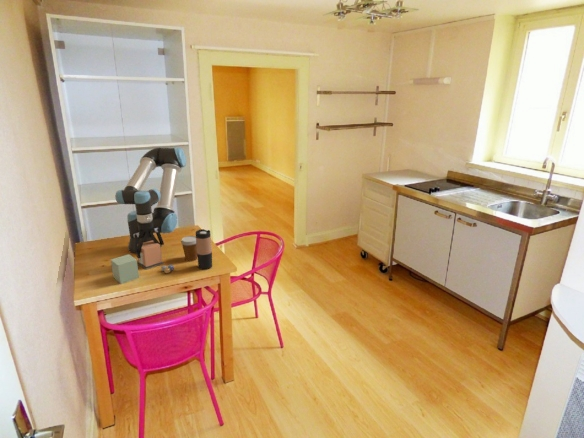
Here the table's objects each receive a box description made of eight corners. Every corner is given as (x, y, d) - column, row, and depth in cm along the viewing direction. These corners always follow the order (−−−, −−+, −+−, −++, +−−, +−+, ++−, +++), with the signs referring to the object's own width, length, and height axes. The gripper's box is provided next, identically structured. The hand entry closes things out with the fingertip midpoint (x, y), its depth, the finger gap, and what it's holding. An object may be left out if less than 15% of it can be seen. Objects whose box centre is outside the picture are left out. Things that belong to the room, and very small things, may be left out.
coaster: (137, 263, 201) (137, 262, 201) (155, 258, 208) (155, 257, 207) (145, 269, 194) (145, 268, 194) (163, 263, 201) (163, 262, 201)
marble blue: (166, 270, 194) (166, 265, 193) (172, 268, 196) (171, 263, 195) (169, 272, 192) (169, 266, 191) (175, 270, 194) (174, 265, 193)
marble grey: (160, 271, 193) (159, 265, 192) (165, 269, 195) (165, 264, 194) (163, 272, 191) (162, 267, 190) (168, 271, 193) (168, 265, 192)
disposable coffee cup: (195, 263, 202) (194, 242, 198) (179, 261, 204) (177, 241, 200) (203, 256, 211) (201, 236, 207) (187, 254, 212) (185, 235, 209)
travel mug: (200, 271, 193) (197, 235, 186) (196, 265, 199) (193, 230, 193) (214, 268, 196) (212, 232, 190) (210, 262, 203) (208, 228, 196)
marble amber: (163, 273, 191) (162, 267, 190) (168, 271, 193) (168, 265, 192) (166, 274, 189) (165, 269, 188) (171, 273, 191) (171, 267, 190)
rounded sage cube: (113, 277, 185) (110, 259, 182) (131, 271, 191) (128, 254, 188) (120, 284, 179) (118, 265, 176) (139, 277, 185) (136, 259, 182)
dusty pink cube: (138, 261, 200) (136, 244, 197) (154, 256, 207) (152, 240, 203) (146, 267, 195) (143, 249, 191) (162, 261, 201) (160, 244, 197)
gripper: (127, 227, 183) (133, 268, 190) (168, 217, 198) (172, 256, 205) (121, 224, 188) (127, 264, 195) (161, 214, 203) (165, 252, 210)
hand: (150, 260), depth 200 cm, fingers closed on dusty pink cube, 9 cm apart
